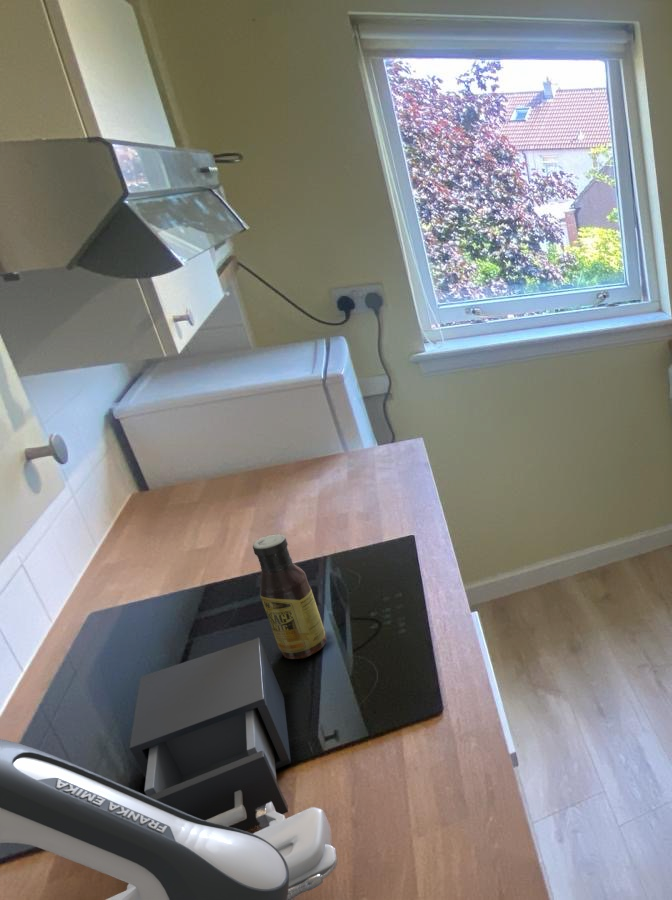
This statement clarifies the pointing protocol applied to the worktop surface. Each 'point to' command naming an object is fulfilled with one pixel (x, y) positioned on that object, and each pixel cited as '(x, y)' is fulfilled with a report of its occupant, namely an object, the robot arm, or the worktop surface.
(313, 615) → the sauce bottle
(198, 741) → the drawer
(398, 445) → the worktop surface
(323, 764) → the worktop surface
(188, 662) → the cabinet
